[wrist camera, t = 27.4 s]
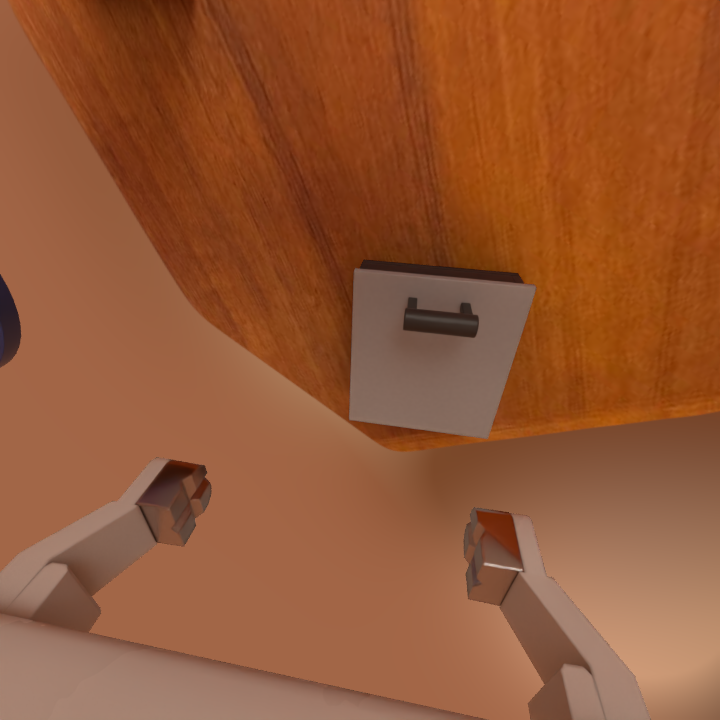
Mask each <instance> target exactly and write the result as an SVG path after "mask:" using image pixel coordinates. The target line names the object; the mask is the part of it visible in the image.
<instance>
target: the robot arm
mask: <svg viewBox="0 0 720 720" xmlns="http://www.w3.org/2000/svg"><path fill="white" fill-rule="evenodd" d="M206 474H207V471H206V468H205V466H204V465H199V464H193V463H188V462H182V461H176V460H171V459H165V458H159V457H156V458H155V459H153V460H152V461H150V462H149V464H148V465H147V466H146V467H145V469H144V470H143V471H142V472H141V473H140V475H139V476H138V477H137V478H136V479H135V481H134V482H133V483H132V484H131V486H130V487H129V488H128V489H127V490H126V491H125V493H124V494H123V495H122V496H121V498H120V499H119V500H118V501H112V502H110V503H108V504H106V505H104V506H103V507H101V508H99V509H97V510H96V511H94V512H92V513H90V514H88V515H86V516H85V517H83V518H81V519H79V520H77V521H76V522H74V523H72V524H70V525H69V526H67V527H65V528H63V529H61V530H60V531H58V532H56V533H54V534H52V535H51V536H49V537H47V538H45V539H44V540H42V541H40V542H38V543H36V544H34V545H33V546H31V547H29V548H27V549H26V550H24V551H22V552H20V553H19V554H18V555H17V556H16V557H15V558H14V559H13V560H12V561H11V562H10V563H9V564H8V565H7V566H6V567H5V568H4V569H3V570H2V571H1V572H0V720H487V719H483V718H478V717H473V716H469V715H464V714H460V713H455V712H450V711H446V710H441V709H436V708H432V707H427V706H423V705H418V704H414V703H409V702H404V701H400V700H395V699H391V698H386V697H381V696H377V695H372V694H368V693H363V692H359V691H354V690H350V689H345V688H340V687H336V686H331V685H326V684H322V683H318V682H313V681H308V680H304V679H299V678H294V677H290V676H286V675H281V674H276V673H272V672H267V671H263V670H258V669H253V668H249V667H244V666H240V665H235V664H231V663H226V662H221V661H216V660H212V659H208V658H203V657H198V656H193V655H189V654H185V653H180V652H176V651H171V650H166V649H162V648H157V647H153V646H148V645H144V644H139V643H134V642H130V641H125V640H120V639H116V638H111V637H107V636H102V635H97V634H93V633H89V631H90V629H91V628H92V626H93V625H94V623H95V622H96V620H97V618H98V617H99V616H100V614H101V610H100V607H99V606H98V604H97V603H96V602H95V600H94V599H93V598H92V597H91V596H93V595H94V594H95V593H96V592H98V591H99V590H100V589H101V588H103V587H104V586H105V585H106V584H108V583H109V582H110V581H111V580H112V579H114V578H115V577H116V576H118V575H119V574H120V573H121V572H123V571H124V570H125V569H126V568H128V567H129V566H130V565H132V564H133V563H134V562H135V561H136V560H138V559H139V558H140V557H141V556H142V555H144V554H145V553H147V552H148V551H149V550H150V549H152V548H153V547H154V546H155V545H156V544H157V543H156V542H158V543H164V544H170V545H177V546H184V545H185V544H186V542H187V540H188V539H189V537H190V535H191V533H192V532H193V530H194V528H195V526H196V524H195V518H196V517H198V516H199V515H201V514H202V513H203V512H204V511H205V509H206V507H207V505H208V503H209V500H210V497H211V484H210V482H209V481H208V480H207V479H206V478H205V475H206ZM470 518H471V522H470V523H468V524H467V526H466V529H465V534H464V558H465V559H466V560H467V562H468V563H469V567H468V569H467V572H466V581H467V592H468V599H470V600H475V601H479V602H484V603H489V604H494V605H498V606H500V609H501V611H502V612H503V614H504V616H505V618H506V619H507V621H508V623H509V624H510V626H511V628H512V630H513V631H514V633H515V635H516V636H517V638H518V640H519V641H520V643H521V645H522V647H523V648H524V650H525V652H526V653H527V655H528V657H529V659H530V660H531V662H532V664H533V665H534V667H535V669H536V670H537V672H538V674H539V676H540V677H541V679H542V681H543V682H544V684H545V685H544V686H543V687H542V688H541V690H540V691H539V692H538V693H537V694H536V695H535V696H534V697H533V698H532V700H531V701H530V702H529V703H528V707H529V713H530V719H531V720H651V718H650V716H649V713H648V710H647V707H646V705H645V702H644V700H643V697H642V694H641V691H640V689H639V686H638V684H637V681H636V678H635V676H634V674H633V673H632V672H631V671H630V670H629V668H628V667H627V666H626V665H625V664H624V662H623V661H622V660H621V659H620V658H619V656H618V655H617V654H616V653H615V652H614V651H613V649H612V648H611V647H610V646H609V644H608V643H607V642H606V641H605V640H604V639H603V637H602V636H601V635H600V634H599V633H598V631H597V630H596V629H595V628H594V627H593V625H592V624H591V623H590V622H589V620H588V619H587V618H586V617H585V616H584V615H583V613H582V612H581V611H580V610H579V608H578V607H577V606H576V605H575V604H574V602H573V601H572V600H571V599H570V598H569V597H568V595H567V594H566V593H565V592H564V591H563V589H562V588H561V587H560V586H559V584H558V583H557V582H556V581H555V580H554V579H553V578H552V577H548V576H547V575H546V571H545V568H544V564H543V561H542V556H541V553H540V549H539V545H538V542H537V538H536V534H535V531H534V527H533V523H532V520H531V518H530V517H529V516H527V515H520V514H512V513H509V512H503V511H496V510H489V509H482V508H475V507H474V508H473V509H472V511H471V514H470Z"/></svg>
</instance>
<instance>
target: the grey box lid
mask: <svg viewBox="0 0 720 720" xmlns="http://www.w3.org/2000/svg"><path fill="white" fill-rule="evenodd" d="M535 291H536V287H535V285H532V284H521V283H511V282H500V281H489V280H478V279H467V278H456V277H445V276H434V275H423V274H412V273H401V272H391V271H380V270H369V269H358V268H355V270H354V281H353V312H352V343H351V374H350V405H349V420H354V421H361V422H368V423H376V424H383V425H390V426H398V427H405V428H412V429H419V430H427V431H434V432H441V433H449V434H456V435H463V436H471V437H478V438H485V439H488V436H489V433H490V430H491V427H492V424H493V421H494V418H495V415H496V411H497V408H498V405H499V402H500V399H501V396H502V393H503V390H504V387H505V384H506V381H507V377H508V374H509V371H510V368H511V365H512V362H513V359H514V356H515V353H516V350H517V347H518V343H519V340H520V337H521V334H522V331H523V328H524V325H525V322H526V319H527V316H528V313H529V309H530V306H531V303H532V300H533V297H534V294H535Z"/></svg>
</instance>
